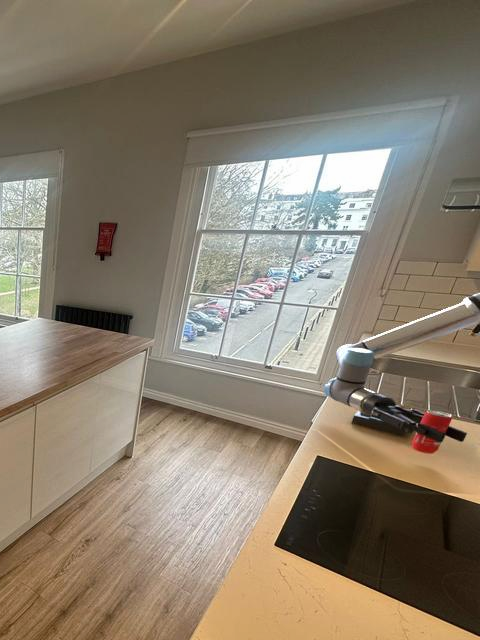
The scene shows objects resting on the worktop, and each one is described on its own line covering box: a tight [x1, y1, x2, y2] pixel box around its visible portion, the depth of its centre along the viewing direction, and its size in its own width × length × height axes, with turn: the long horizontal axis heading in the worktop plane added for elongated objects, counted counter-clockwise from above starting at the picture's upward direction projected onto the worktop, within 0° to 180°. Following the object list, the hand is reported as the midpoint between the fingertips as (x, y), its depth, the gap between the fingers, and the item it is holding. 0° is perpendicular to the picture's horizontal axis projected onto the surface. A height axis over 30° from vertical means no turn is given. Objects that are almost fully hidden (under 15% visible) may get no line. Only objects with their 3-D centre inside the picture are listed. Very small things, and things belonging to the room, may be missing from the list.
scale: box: [350, 410, 408, 437], centre depth 138 cm, size 13×13×4 cm
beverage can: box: [411, 409, 453, 455], centre depth 115 cm, size 5×5×12 cm
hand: (453, 437), depth 110 cm, fingers closed on beverage can, 5 cm apart
